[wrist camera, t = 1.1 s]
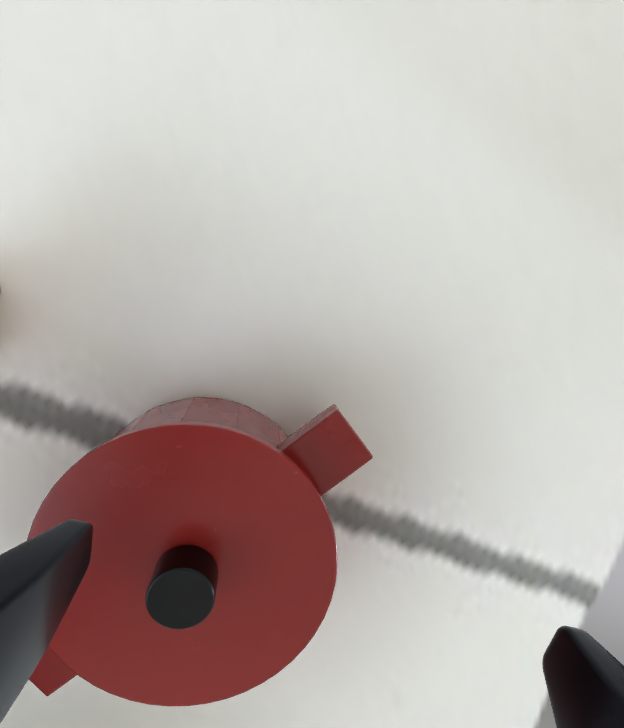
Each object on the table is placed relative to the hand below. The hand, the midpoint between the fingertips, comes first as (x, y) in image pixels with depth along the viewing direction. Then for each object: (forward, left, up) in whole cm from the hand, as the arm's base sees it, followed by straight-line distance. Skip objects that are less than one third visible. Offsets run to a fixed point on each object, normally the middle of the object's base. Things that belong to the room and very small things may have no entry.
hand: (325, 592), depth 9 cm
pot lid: (-6, -1, -8) cm, 10 cm away
